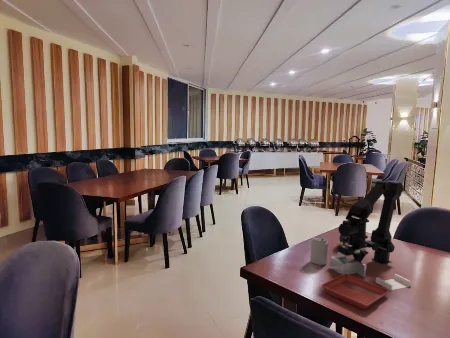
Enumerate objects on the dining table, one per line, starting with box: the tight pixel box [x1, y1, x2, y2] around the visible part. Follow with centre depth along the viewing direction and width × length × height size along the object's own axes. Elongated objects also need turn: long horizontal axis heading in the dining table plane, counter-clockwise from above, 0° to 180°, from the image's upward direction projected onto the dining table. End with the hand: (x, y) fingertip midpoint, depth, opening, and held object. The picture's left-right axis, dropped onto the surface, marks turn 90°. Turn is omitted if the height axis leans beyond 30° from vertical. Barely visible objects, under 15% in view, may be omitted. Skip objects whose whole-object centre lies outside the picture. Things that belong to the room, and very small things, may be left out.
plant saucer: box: [321, 274, 390, 310], centre depth 116 cm, size 18×18×3 cm
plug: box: [341, 257, 358, 262], centre depth 137 cm, size 7×4×4 cm, turn 112°
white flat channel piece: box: [375, 273, 412, 291], centre depth 124 cm, size 11×7×2 cm, turn 111°
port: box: [329, 251, 367, 278], centre depth 137 cm, size 8×16×6 cm, turn 21°
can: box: [309, 236, 329, 266], centre depth 145 cm, size 8×8×12 cm
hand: (357, 265), depth 139 cm, fingers closed
